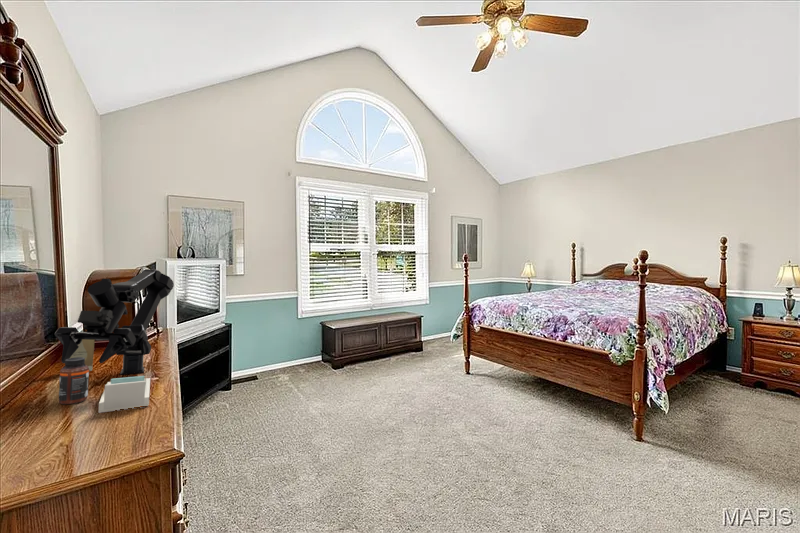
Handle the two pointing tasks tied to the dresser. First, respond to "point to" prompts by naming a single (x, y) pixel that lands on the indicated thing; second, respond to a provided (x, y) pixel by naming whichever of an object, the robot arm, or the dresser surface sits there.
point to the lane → (125, 395)
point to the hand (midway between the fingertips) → (81, 362)
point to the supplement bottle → (73, 381)
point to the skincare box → (85, 352)
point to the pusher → (127, 379)
